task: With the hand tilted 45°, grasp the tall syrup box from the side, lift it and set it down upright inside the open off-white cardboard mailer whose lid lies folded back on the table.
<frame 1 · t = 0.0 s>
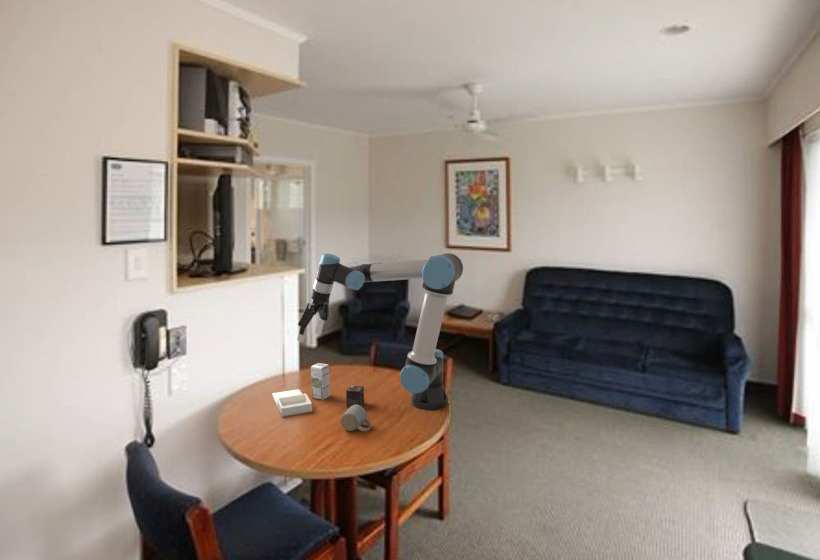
hand: (309, 337, 204), 28 cm above the table, tool tilted 20°, fingers open, 13 cm apart
box: (355, 405, 201), on the table
mailer: (294, 408, 198), on the table
syrup box: (321, 397, 211), on the table
ceramic mug: (357, 428, 180), on the table
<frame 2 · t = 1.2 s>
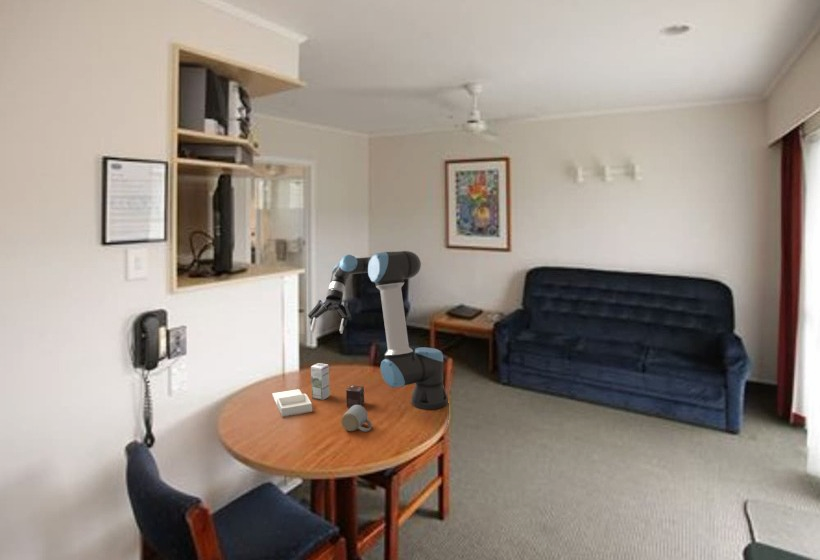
hand: (326, 331, 218), 27 cm above the table, tool tilted 45°, fingers open, 13 cm apart
nothing on the table moved.
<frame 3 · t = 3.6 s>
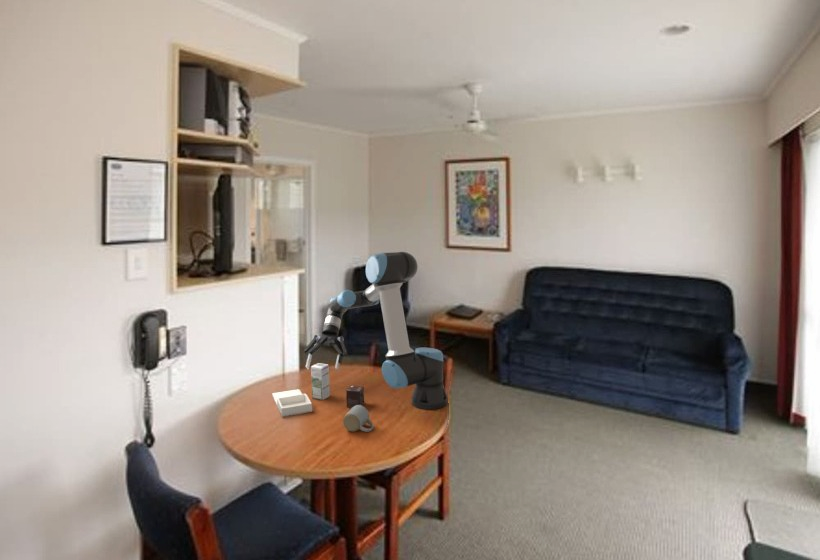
hand: (321, 368, 214), 11 cm above the table, tool tilted 45°, fingers open, 13 cm apart
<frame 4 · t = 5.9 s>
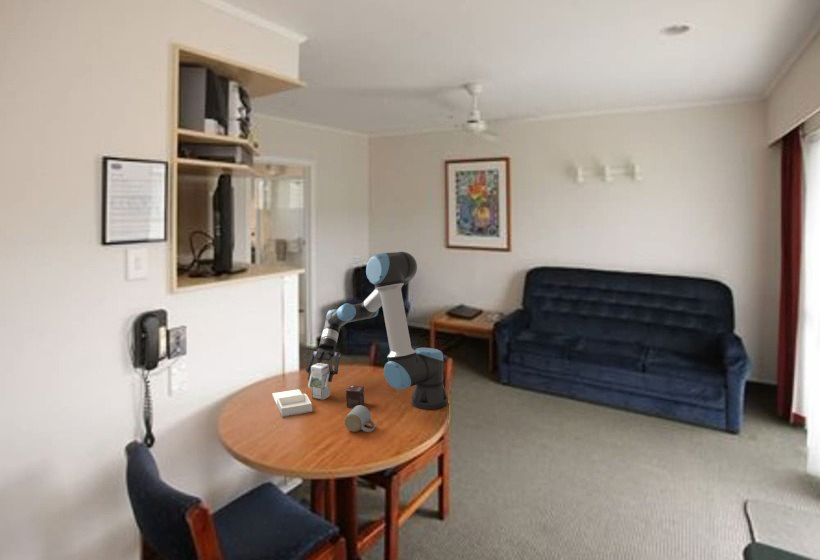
hand: (317, 387, 206), 5 cm above the table, tool tilted 45°, fingers closed on syrup box, 7 cm apart
syrup box: (321, 397, 211), on the table, touching gripper
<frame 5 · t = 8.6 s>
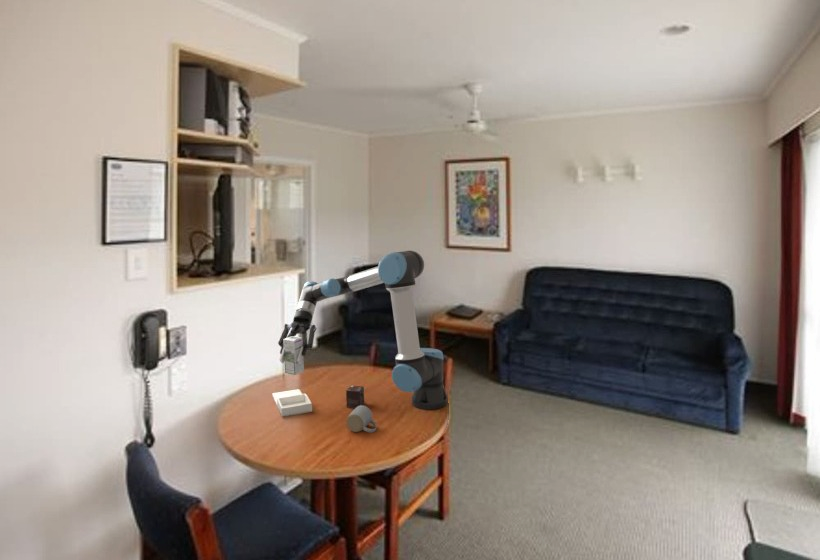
hand: (290, 362, 194), 21 cm above the table, tool tilted 45°, fingers closed on syrup box, 7 cm apart
syrup box: (294, 372, 198), point 15 cm above the table, touching gripper
when the fingers open (7 cm above the table, at t = 11.6 s): syrup box drops 1 cm, resting on mailer.
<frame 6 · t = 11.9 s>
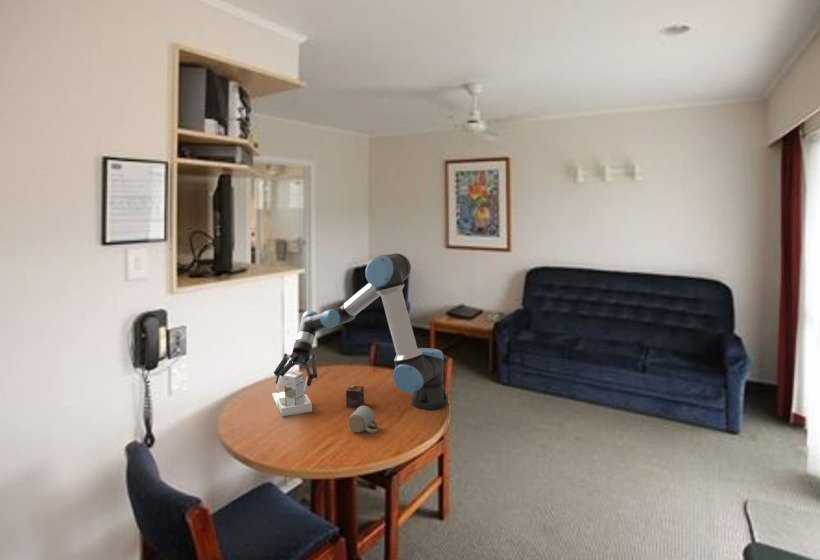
hand: (290, 392, 194), 8 cm above the table, tool tilted 45°, fingers open, 11 cm apart
syrup box: (295, 408, 198), resting on mailer
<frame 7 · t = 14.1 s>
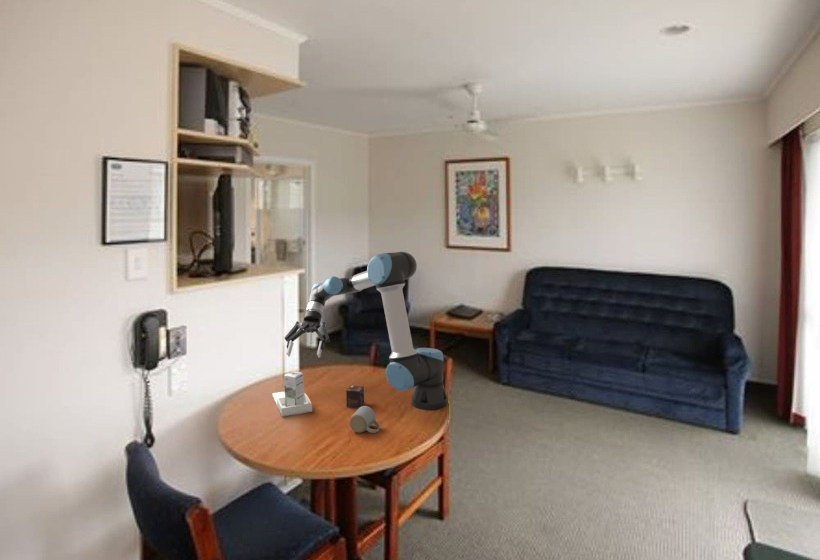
hand: (303, 355, 206), 19 cm above the table, tool tilted 45°, fingers open, 13 cm apart
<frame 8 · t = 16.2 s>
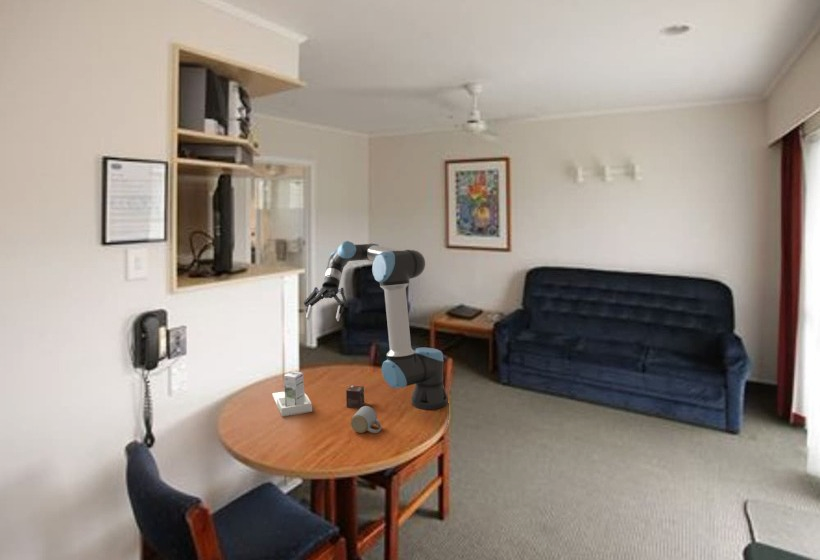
hand: (322, 319, 211), 34 cm above the table, tool tilted 45°, fingers open, 13 cm apart
at the end: syrup box inside the target area on the mailer (0.3 cm from its centre), point 0.3 cm above the mailer's base; syrup box tilted 0°; the gripper is holding nothing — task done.
